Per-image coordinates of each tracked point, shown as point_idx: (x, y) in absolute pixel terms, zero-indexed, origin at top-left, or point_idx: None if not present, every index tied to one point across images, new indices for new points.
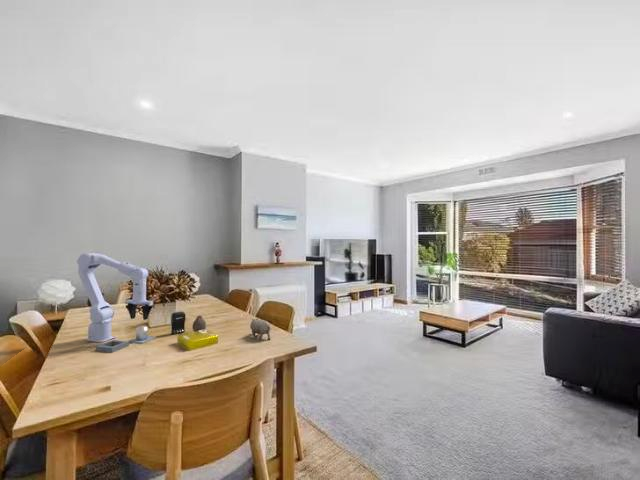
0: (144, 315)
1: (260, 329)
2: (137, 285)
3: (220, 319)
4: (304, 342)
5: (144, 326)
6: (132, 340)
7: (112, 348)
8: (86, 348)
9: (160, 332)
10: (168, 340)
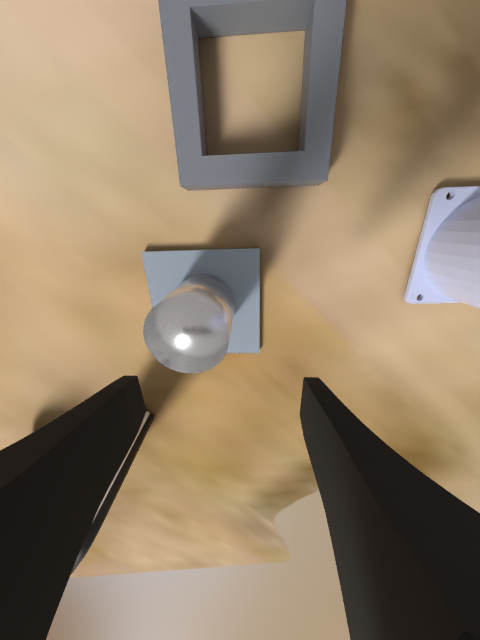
0: (71, 409)
1: None
2: None
3: (135, 560)
4: None
5: (186, 358)
6: (239, 269)
7: None
8: (466, 19)
9: (222, 418)
10: (68, 332)
